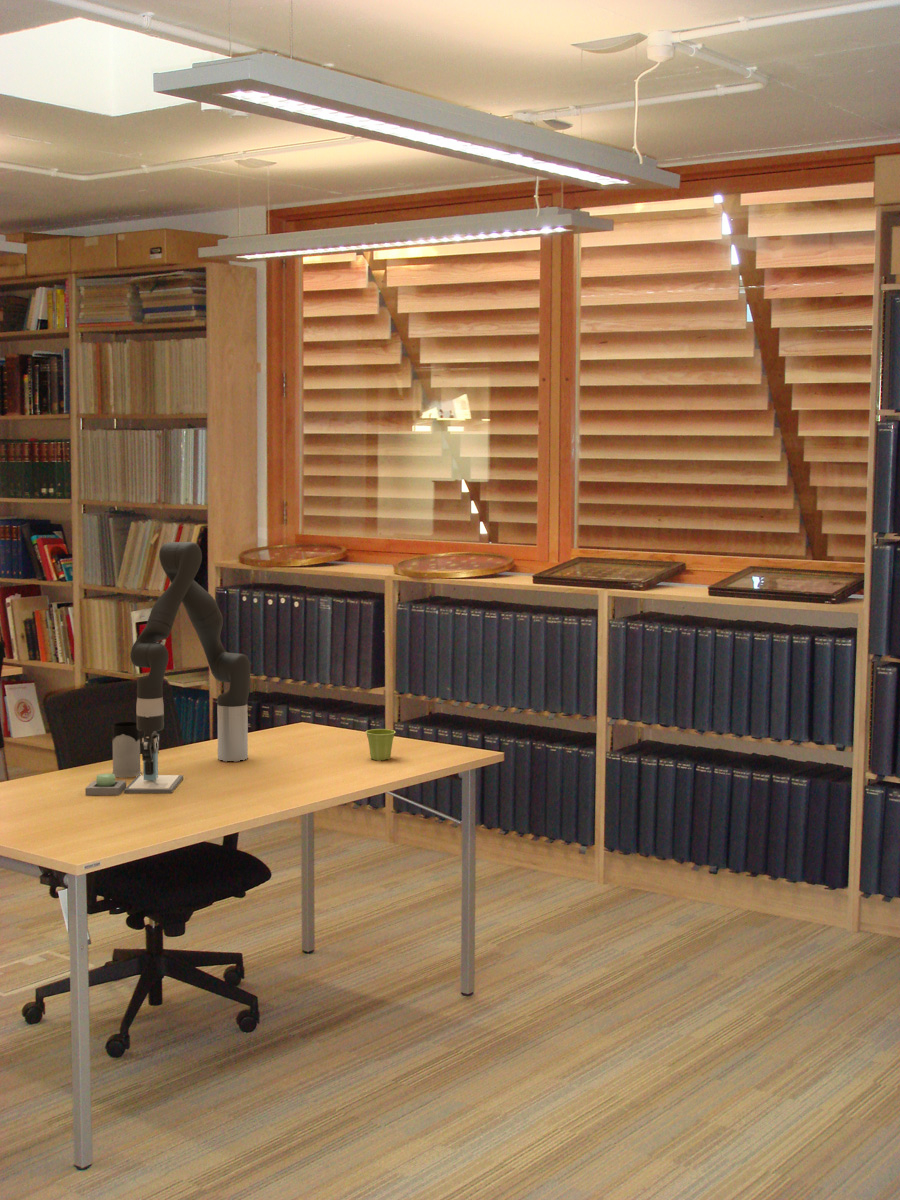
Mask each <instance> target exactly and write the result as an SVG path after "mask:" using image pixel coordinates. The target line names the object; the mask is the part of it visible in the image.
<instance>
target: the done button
mask: <svg viewBox="0 0 900 1200" xmlns="http://www.w3.org/2000/svg"><path fill="white" fill-rule="evenodd" d="M95 779H96V780H95V781H96V783H97V786H112V785H115V781H116V777H115V774H112V773H99V774H97V775H96V777H95Z"/></svg>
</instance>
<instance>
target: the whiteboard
mask: <svg viewBox="0 0 900 1200" xmlns="http://www.w3.org/2000/svg"><path fill="white" fill-rule="evenodd" d="M182 779H184V775H183V774H158V778H157V779H156V780H144V774H142V775H138V776H137V777H134V779H133V780H132V781H130V783H129V784H128V785H126V788H125V789H124V790H123V792H124V794H173V792H174V791H175V790H176V788H177V787H178V786H179V785H178V784H180V783H181V782H182V781H183V780H182ZM181 780H182V781H181ZM177 785H178V786H177ZM176 786H177V787H176ZM174 789H175V790H174ZM173 790H174V791H173ZM172 791H173V792H172Z"/></svg>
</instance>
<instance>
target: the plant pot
mask: <svg viewBox="0 0 900 1200" xmlns="http://www.w3.org/2000/svg"><path fill="white" fill-rule="evenodd" d="M365 734H366V737H367V739H368V746H369V752H370V753H369V754H370V755H369V756H370V760H374V761H381V760H382V761H385V760H387V759H389V760H390V759H391V755H392V749H393V740H394V738H395V734H396V731H395V730H394V729H393V730H392V729H388V728H375V729H367V730H365Z"/></svg>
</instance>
